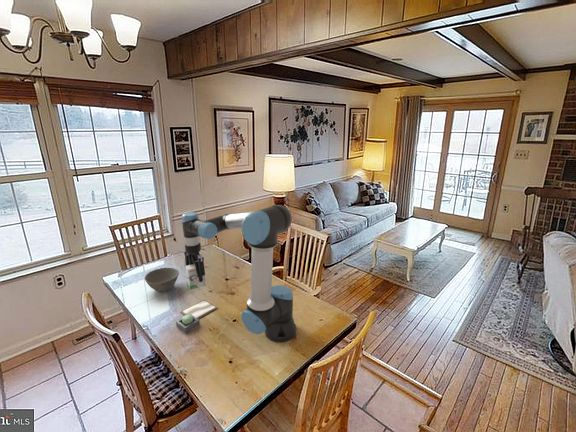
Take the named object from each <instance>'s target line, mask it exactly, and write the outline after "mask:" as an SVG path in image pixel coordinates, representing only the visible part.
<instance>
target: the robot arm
mask: <svg viewBox="0 0 576 432" xmlns="http://www.w3.org/2000/svg"><path fill="white" fill-rule="evenodd" d="M292 217H293V216H292V213H291V211H290V210H289V208H287V207H286V206H285V205H282V204H275V205H270V206H267V207H265V208H262V209H258V210H253V211H245V212H239V213H232V212H229V213H225V214H222V215H219V216H216V217H212V218H208V219H206V220H202V219H200V218H199V215H198V213H197V212H193V211H192V212H191V211H190V212H185V213H183V214H182V215H181V224H182V232H183V243H184V250H185V251H184V252H183V254H184V259H185V260H184V261H185V266H187V265H191V264H195V267H196V271H197V275H198V276H197V284H198V288H197V289H200V288H202V286H203V276H204V275H205V276H206V270H205V269H204V268H205V262H204V261H205V259H204V256H201V255H200V251H201V250H202V246H201V238H203V239H208V240H211V239H213V238H214V237H216V236H217V233H218V234H219V233H221V232H223V231H227V230H239V229H241V234H242V236H243V239H244V241H246V243H247V245H248V246H249V247H250V248H251V254H250V255H251V256H250V257H251V263H250V268H251V269H250V272H251V273H250V274H251V275H250V296H249V297H248V299H247V301H246V309H244V310H243V311H242V312H241V314H240V315H241V316H240V318H241V322H242V323H243V325H244V327H245V328H246V329H247V330H248V331H249V332H250V333H251V334H253V335H261V334H262V333H264V334H265V336H266V337H267V338H268V339H269V340H271V341H273V342H278V343H283V342H288V341H290V340H292V339H293V338H294V337H295V336H296V334H297V326H296V323H295V320H294V316H293V315H294V314H293V313H294V312H293V311H294V310H293V308H294V307H293V306H294V304H293V303H294V300H293V299H294V297H293V296H294V294H293V290H292V289H291V288H290V287H288V286H285V285H281V284H279V285H278V284H277V285H273V266H274V265H273V263H274V261H273V260H274V249H275V248H276V247H277V246H278V238H279V237H278V236H279V235H280V234H282V233H284V232H286V231H288V229H290V227H291V225H292V221H293V218H292ZM200 237H201V238H200ZM203 287H204V286H203Z"/></svg>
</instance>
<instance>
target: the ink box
mask: <svg viewBox="0 0 576 432" xmlns="http://www.w3.org/2000/svg"><path fill="white" fill-rule="evenodd" d="M184 267H185V277H186V284H187V288H188V290H189V291H191V290H196V289H199V288H198V284H197V276H198V275H197V271H196V267H195V264H191V265H187V266H186V265H185V266H184ZM204 269H205V267H204ZM206 279H207V278H206V274H205V275H204V276H203V286H202V287H206V286H207V281H206ZM202 287H201V288H202Z"/></svg>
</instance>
